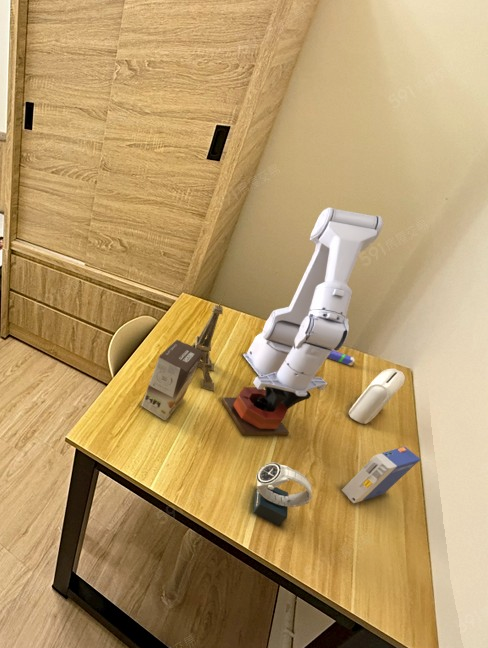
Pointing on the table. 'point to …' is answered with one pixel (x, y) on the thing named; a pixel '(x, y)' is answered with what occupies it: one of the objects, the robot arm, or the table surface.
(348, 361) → the eraser
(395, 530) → the table surface
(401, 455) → the walkman
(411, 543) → the table surface
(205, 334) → the eiffel tower
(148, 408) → the coffee box
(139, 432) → the table surface
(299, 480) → the watch
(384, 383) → the white wireless mouse
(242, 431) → the post
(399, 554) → the table surface
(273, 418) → the ring
